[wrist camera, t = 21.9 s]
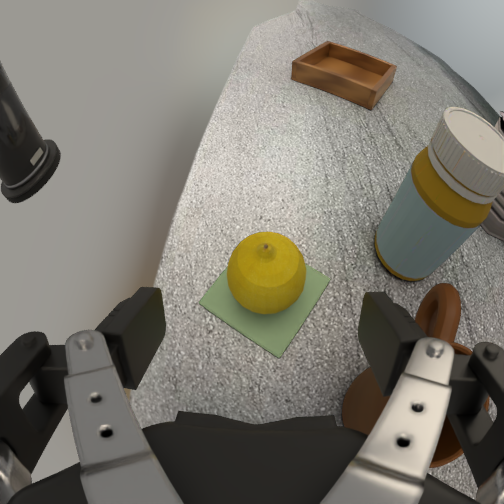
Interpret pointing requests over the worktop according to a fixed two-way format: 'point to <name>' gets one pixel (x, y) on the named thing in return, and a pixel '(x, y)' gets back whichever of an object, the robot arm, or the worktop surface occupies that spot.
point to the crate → (344, 73)
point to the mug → (373, 403)
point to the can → (496, 203)
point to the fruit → (266, 273)
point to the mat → (265, 325)
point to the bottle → (442, 195)
